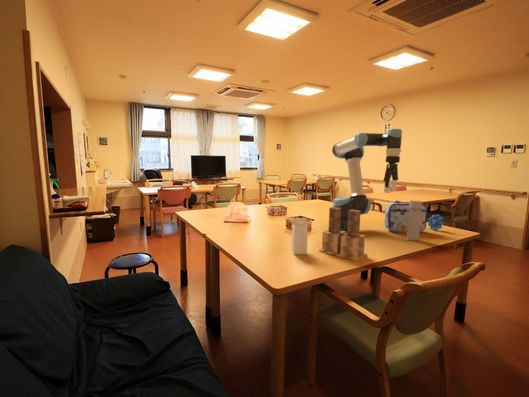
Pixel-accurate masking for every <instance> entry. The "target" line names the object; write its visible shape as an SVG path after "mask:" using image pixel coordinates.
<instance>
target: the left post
mask: <svg viewBox="0 0 529 397" xmlns="http://www.w3.org/2000/svg"><path fill="white" fill-rule="evenodd" d="M328 211H329V213H328V230H329V232H330V233H335V234H337V233H340V220H341V208H338V207H333V206H331V207H329V210H328Z"/></svg>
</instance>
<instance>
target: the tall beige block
mask: <svg viewBox="0 0 529 397" xmlns="http://www.w3.org/2000/svg"><path fill="white" fill-rule="evenodd" d="M409 202H410V203H409V208H410V209H409V214H408V213H407V215H406V217H407V221H408V227H407V230H406V231H407V233H406V239H407V240H408V241H411V242H417V241H419V240H420V233H421V232H420V223H421V211H422V210H421V209H422V204H423V203H422V202H423V201H422V200H416V199H410V200H409ZM407 212H408V208H407ZM405 222H406V220H405ZM404 227H405V225H404ZM406 231H405V230H404V232H406Z"/></svg>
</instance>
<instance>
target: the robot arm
mask: <svg viewBox="0 0 529 397" xmlns="http://www.w3.org/2000/svg"><path fill="white" fill-rule="evenodd" d="M402 131H403V130H402V129H401V128H389V129H388V130H387V133H379V132H378V133H372V132H371V133H370V132H358V133H356V134H355V136H354V137H352V138H349V139H347V140H345V141H339V142H337V143H334V145H333V146H332V148H331V152H332V155H334V157H335V158H337V159H343V160H345V163H346V164H347V170H348V178H349V185H350V193H351V194H350V195H349V196H339V197H334V199H333V201H332V202H333V204H332V207H338V208H341V220H340V231H345V232H346V233H347V229H348V211H349V210H352V209H353V210H360V211H361V212H360V216H361V215H367V214H368V213H369V212H370V210H371V209H372V208H371V207H372V202H371V200H370V198H367V195H366V194H365V193H364V185H363V177H362V176H363V175H362V170H361V161H362V158H363V157H364V154H365V149H364V147H367V146H368V147H370V146H371V147H386V152H385V155H386V157H385V163H388V164H386V168H385V173H384V177H383V179H382V181H383V182H384V190H383V191H384V192H383V193H386V194H390V191H393V192H396V191H397V181H399V173H398V172H399V171H398V170H399V169H398V165H399V163H400V162H401V161H400V160H401V157H400V156H401V152H402V149H401V147H402V138H403V136H402V135H403V132H402ZM391 178H392V179H391Z"/></svg>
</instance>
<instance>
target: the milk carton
mask: <svg viewBox="0 0 529 397" xmlns="http://www.w3.org/2000/svg"><path fill="white" fill-rule="evenodd" d="M292 220H293V221H292V224H291V252H292V254H293V255H307V254H308V235H309V234H308V230H309V229H308V228H309V227H308V221H307V218H306V217H304V218H303V217H299V218H298V217H294V218H292Z"/></svg>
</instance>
